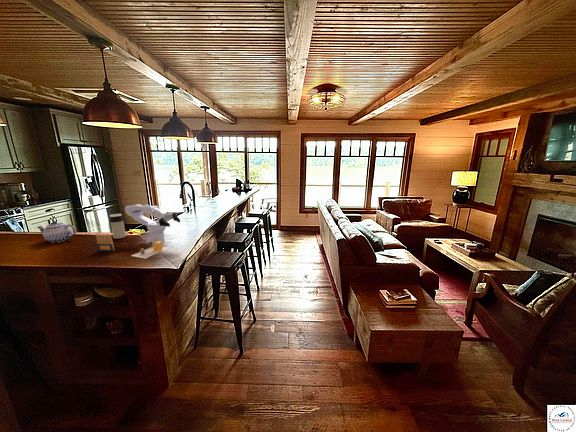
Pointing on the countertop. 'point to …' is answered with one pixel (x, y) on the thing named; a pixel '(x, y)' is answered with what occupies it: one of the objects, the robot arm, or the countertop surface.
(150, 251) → the mounting plate
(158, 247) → the cupcake
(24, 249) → the countertop surface
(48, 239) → the teapot
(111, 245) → the tan upright slab
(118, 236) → the travel mug
